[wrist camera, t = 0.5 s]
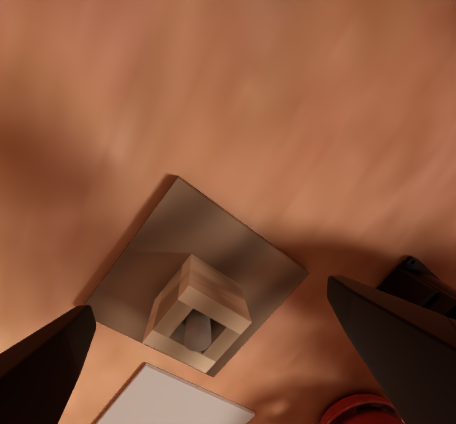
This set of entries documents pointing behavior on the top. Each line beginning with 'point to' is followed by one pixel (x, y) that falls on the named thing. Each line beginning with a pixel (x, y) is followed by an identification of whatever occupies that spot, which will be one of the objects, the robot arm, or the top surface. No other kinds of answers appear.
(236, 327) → the collar
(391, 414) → the plant pot
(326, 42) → the top surface
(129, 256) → the post stand
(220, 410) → the mat
